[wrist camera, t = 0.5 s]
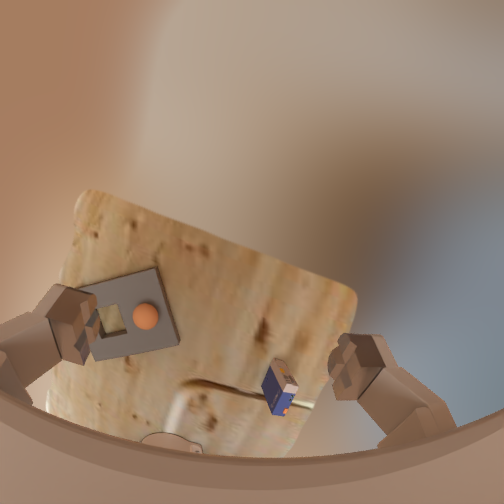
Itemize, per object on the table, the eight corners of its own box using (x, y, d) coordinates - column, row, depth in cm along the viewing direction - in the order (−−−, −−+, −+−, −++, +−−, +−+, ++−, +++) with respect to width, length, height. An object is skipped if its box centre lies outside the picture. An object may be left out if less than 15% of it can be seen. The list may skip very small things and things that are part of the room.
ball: (163, 321, 54) (159, 330, 49) (140, 327, 53) (135, 335, 48) (155, 297, 53) (151, 304, 48) (132, 303, 52) (126, 310, 47)
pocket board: (180, 339, 57) (179, 344, 54) (99, 355, 55) (95, 361, 52) (157, 266, 55) (154, 268, 52) (75, 288, 53) (69, 291, 50)
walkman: (272, 388, 62) (284, 417, 50) (261, 386, 61) (272, 415, 49) (284, 360, 61) (300, 386, 50) (273, 357, 61) (287, 383, 49)
